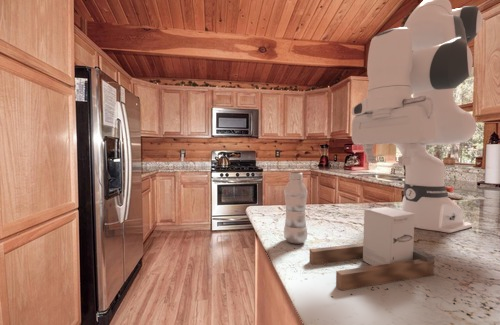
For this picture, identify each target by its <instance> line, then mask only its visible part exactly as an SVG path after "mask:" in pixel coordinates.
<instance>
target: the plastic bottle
mask: <svg viewBox="0 0 500 325" xmlns="http://www.w3.org/2000/svg"><path fill="white" fill-rule="evenodd" d="M288 174H289V176H288V179H289V181H288V182H287V184H285V187H284V190H283V194H284V195H283V196H284V202H285V203H284V204H285V222H284V228H283V237H284V239H285V241H286V242H288V243H290V244H294V245H296V244H298V245H299V244H304V243H305V242H306V241H307V239H308V228H307V222H306V207H307V206H306V204H307V198H308V189H307V187H306V185H305V183H304V182H303V180H304V177H303V172H302V171H289V172H288Z"/></svg>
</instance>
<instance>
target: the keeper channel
mask: <svg viewBox="0 0 500 325" xmlns="http://www.w3.org/2000/svg"><path fill="white" fill-rule="evenodd" d="M358 259H363V242H362V243H354V244H353V243H352V244H346V245H343V244H342V245H336V246H328V247H327V246H326V247H318V248H309V264H311V265H312V266H313V265H320V264H327V263H328V264H329V263H336V262H344V261H350V260H358ZM435 259H436V256H434V255H432V254H430V253H427V252H425V251H423V250H420V249H418V248H416V247H414V246H413V260H411V261H404V262H397V263H390V264H383V265H375V266H372V265H369V266H362V267H354V268H348V269H343V270H336V273H335V277H336V278H335V287H336V288H337V289H338V290H340V291H345V290H346V291H347V290H352V289H358V288H365V287H372V286H376V285H382V284H388V283H394V282H395V283H396V282H400V281H406V280H412V279H419V278H424V277H431V276H435V263H436V260H435Z"/></svg>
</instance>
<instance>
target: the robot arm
mask: <svg viewBox="0 0 500 325" xmlns="http://www.w3.org/2000/svg"><path fill="white" fill-rule="evenodd" d="M482 24H483V15H482V11H481V10H480V8H479V7H478V6H477V5H465V6H462V7H460V8H455V9H453V7H452V3H451V0H423V1H422V2H421V3H419V4H418V5H417V6H416V7H415V9H413V11H412V12H411V13H410V15H408V18H407V20H406V21H405V23H404V25H403V26H402V27H401V26H399V27H396V28H391V29H387V30H384V31H382V32H379V33H377V34H376V35H375V36H373V37H372V38H371V41H370V43H369V49H368V54H367V64H366V66H367V69H366V74H367V78H368V87H367V89H366V97H364V98H363V99H362V100H360V101H359V103H357V104H356V105H354V106H353V107H352V109H351V114H352V117H353V116H354V117H353V118H352V121H351V141H352V143H353V145H357V146H358V145H360V146H361V145H362V150H363V153H364V154H365V157H366V159H365V162H366V163H368V164H369V163H370V164H376V163H377V155H375V154H374V150H373V149H374V147H375V145H391V144H392V145H394V146H395V147H396V148H397V149H398V150H399V152H400V153H401V156H398V157H397V158H398V162H397V163H398V165H399V166H405V183H403V194H404V196H402V202H401V203H402V204H401V209H400V210H402V211H406V212H410V213H414V214H415V221H414V228H416V229H421V230H426V231H427V230H429V231H436V232H437V231H438V232H443V233H449V234H451V233H454V232H458V231H459V232H460V231H462V230H465V229H470V228H472V227H473V223H470V222H468V221H466V220H464V212H463V209H462V207H461V206H459V205H458V204H457V203H455V202H454V201H453V200H452V199H451V198H449V194H448V193H451V194H452V193H453V192H454V191H455V189H454V187H453V186H448V185H447V186H446V185H445V177H446V176H445V174H446V171H445V170H446V166H445V165H446V164H445V163H444V162H443V160H442V159H440V158H439V157H436V156H434V155H432V154H430V153H429V152H428V150H427V146H448V145H456V144H462V143H466V142H469V140H471V139H472V138H473V136H474V135H475V133H476V131H477V121H476V119H475V117H474V116H473V115H472V114H471V113H470V112H468V111H466V110H464V109H462V108H461V107H459V105H458V104H457V102H456V101H455V99H454V98H455V97H454V89H455V88H457V87H459V86H460V85H461V84H462V83H464V82H465V81H466V80H467V79H468V78H469V77H470V74H471V72H472V70H473V60H474V58H473V54H472V51H471V48H470V47H469V45H468V44H469V43H470V42H472V41H473V40H474V39H475V38H476V36H478V33H479V32H480V30H481V27H482ZM412 94H413V97H412Z"/></svg>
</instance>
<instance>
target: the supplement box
mask: <svg viewBox="0 0 500 325" xmlns="http://www.w3.org/2000/svg"><path fill="white" fill-rule="evenodd" d="M363 212H364V213H363V216H364V217H363V242H362V243H363V258H362V262H364V263H367V264H368V265H369V266H375V265H383V264H390V263H397V262H404V261H411V260H413V247H414V241H415V240H414V239H415V237H414V236H415V227H414V221H415V214H414V213H410V212H406V211H402V210H401V209H397V208H393V207H388V206H383V207H373V208H364V211H363Z"/></svg>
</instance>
